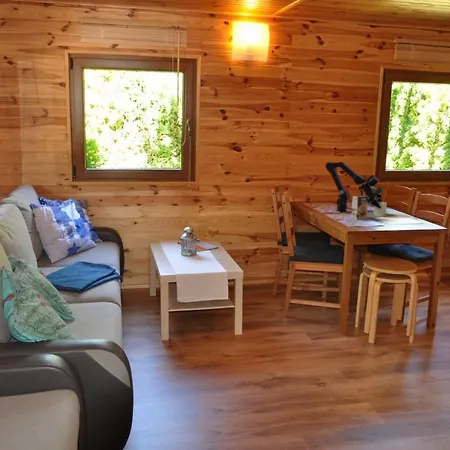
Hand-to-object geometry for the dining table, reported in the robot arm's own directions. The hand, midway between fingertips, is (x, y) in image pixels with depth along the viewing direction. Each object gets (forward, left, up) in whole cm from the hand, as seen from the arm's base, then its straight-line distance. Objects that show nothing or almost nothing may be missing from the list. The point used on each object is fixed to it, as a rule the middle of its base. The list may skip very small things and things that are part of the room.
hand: (382, 207), depth 376 cm
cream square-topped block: (-1, +1, -6) cm, 6 cm away
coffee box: (-22, -2, -7) cm, 23 cm away
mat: (0, +5, -7) cm, 8 cm away
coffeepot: (+23, +41, -7) cm, 48 cm away
